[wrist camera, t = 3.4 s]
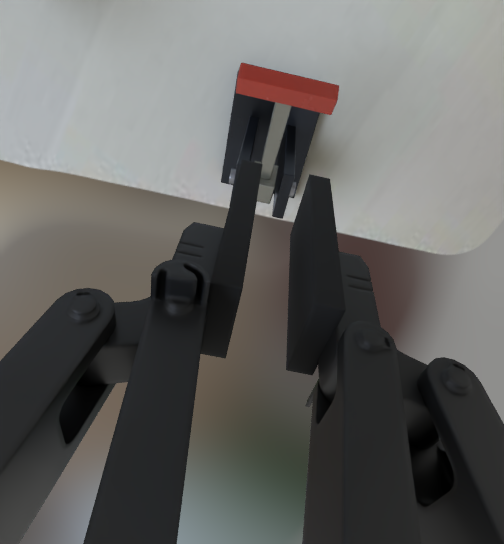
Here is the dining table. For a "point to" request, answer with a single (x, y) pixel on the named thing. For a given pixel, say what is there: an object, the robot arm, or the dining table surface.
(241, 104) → the bracket
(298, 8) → the dining table surface
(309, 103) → the lever
